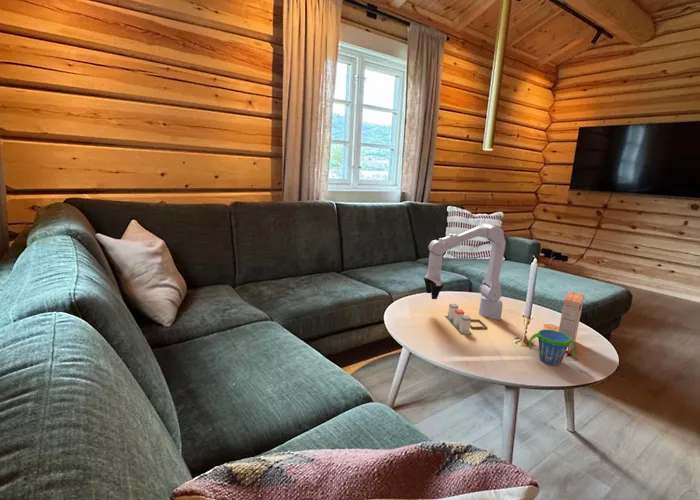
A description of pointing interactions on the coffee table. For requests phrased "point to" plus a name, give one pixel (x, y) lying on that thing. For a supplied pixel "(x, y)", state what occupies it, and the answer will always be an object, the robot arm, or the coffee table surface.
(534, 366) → the coffee table surface
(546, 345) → the snack cup
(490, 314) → the robot arm
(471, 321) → the tray
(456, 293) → the coffee table surface
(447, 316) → the block
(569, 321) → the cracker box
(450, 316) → the block
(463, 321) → the fuse slot
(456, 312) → the red cap fuse
